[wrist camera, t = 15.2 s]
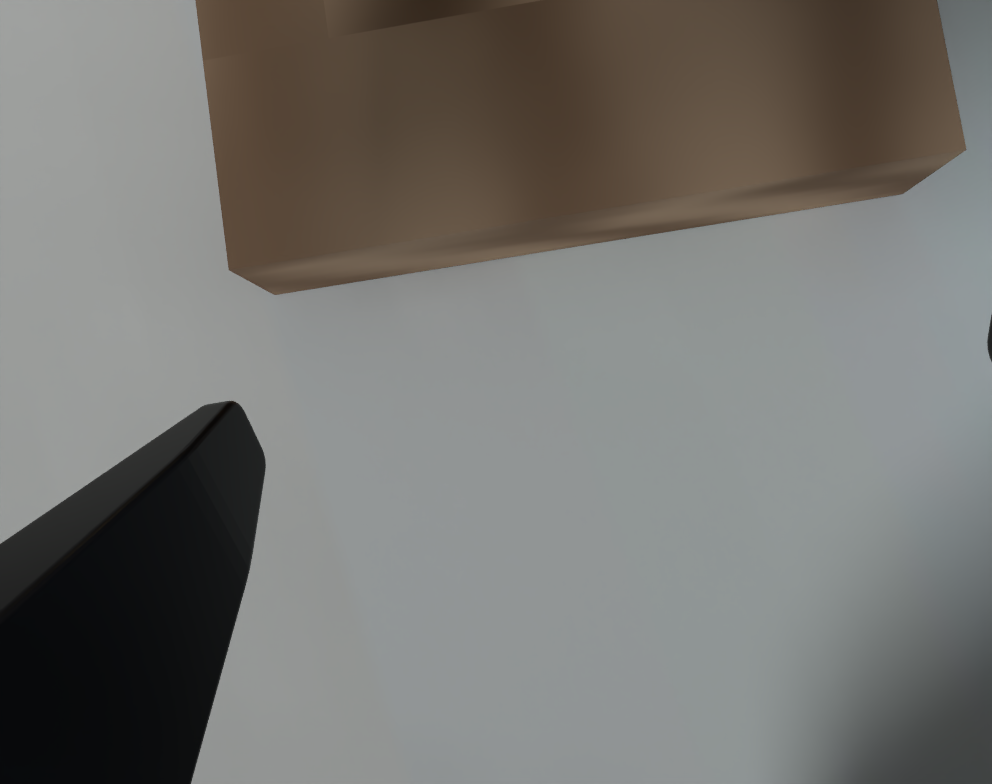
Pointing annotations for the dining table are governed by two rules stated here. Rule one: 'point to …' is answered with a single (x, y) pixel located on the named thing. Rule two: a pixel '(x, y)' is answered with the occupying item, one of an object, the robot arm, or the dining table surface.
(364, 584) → the dining table surface
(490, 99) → the keyhole board
